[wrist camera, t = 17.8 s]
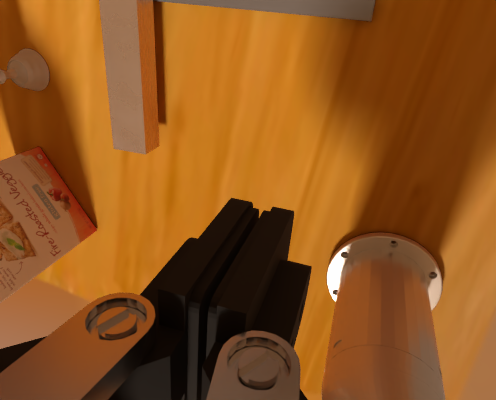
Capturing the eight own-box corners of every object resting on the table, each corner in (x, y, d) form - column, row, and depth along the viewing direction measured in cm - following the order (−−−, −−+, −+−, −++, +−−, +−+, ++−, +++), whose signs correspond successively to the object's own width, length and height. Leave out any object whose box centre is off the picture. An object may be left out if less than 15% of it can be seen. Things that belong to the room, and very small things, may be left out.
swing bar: (132, 139, 47) (113, 148, 44) (113, -110, 36) (86, -121, 33) (162, 144, 46) (145, 154, 43) (152, -110, 35) (128, -122, 32)
